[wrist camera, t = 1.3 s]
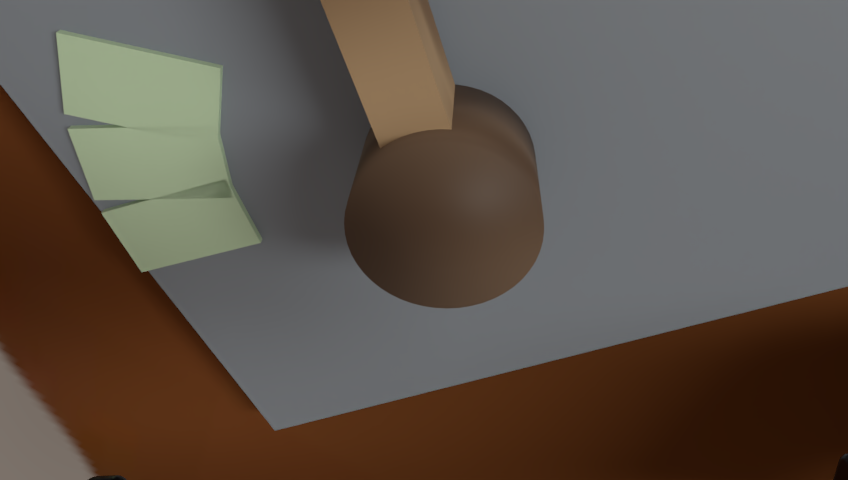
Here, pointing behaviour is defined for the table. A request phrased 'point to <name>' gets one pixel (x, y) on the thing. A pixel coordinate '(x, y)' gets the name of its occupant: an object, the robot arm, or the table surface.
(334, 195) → the board
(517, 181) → the peg lever
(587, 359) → the table surface
